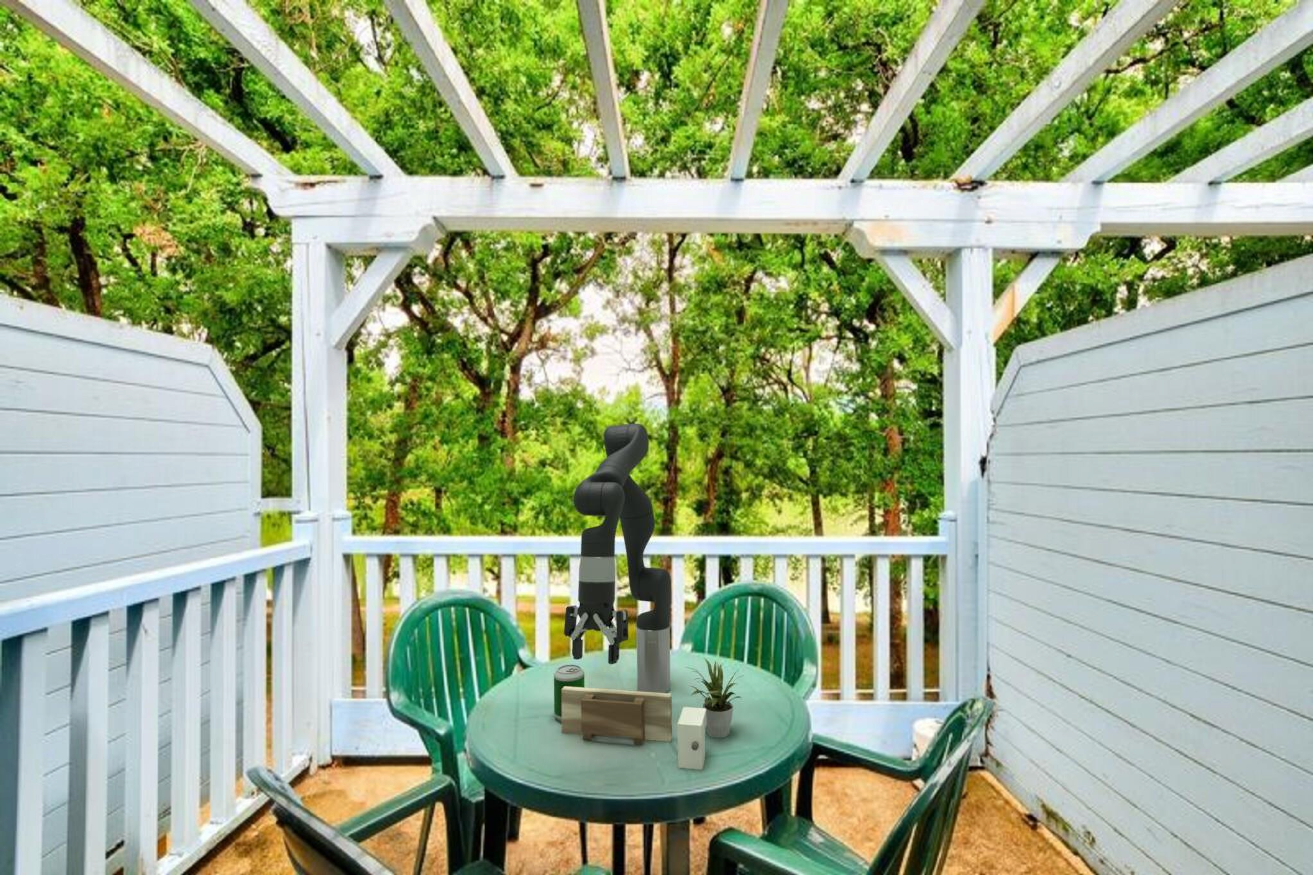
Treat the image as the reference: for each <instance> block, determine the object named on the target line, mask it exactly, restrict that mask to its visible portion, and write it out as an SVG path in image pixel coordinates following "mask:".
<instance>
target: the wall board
mask: <svg viewBox="0 0 1313 875" xmlns="http://www.w3.org/2000/svg"><path fill="white" fill-rule="evenodd" d="M561 691H562V722H561V733H562V734H563V733H564V734H575V735H582V740H586V741H592V739H593V738H594V737H595V736H598V737H599V736H600V737H609V738H610V737H611V738H620V739H621V738H625V739H633V745H640V746H641V745H642V746H643V745H644V742H645V740H646V741H655V740H656V742H657V741H658V742H669V743H671V741H672V740H673V711H672V710H673V709H672V708H673V706H672V704H673V701H672V699H673V698H672V695H673V694H672V693H670V692H669V693H668V692H666V693H654V692H640V691H638V690H636V691H635V690H623V689H612V688H611V689H607V688H597V687H596V688H593V687H585V688H582V687H568V686H564V687H563V688H562V690H561Z"/></svg>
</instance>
